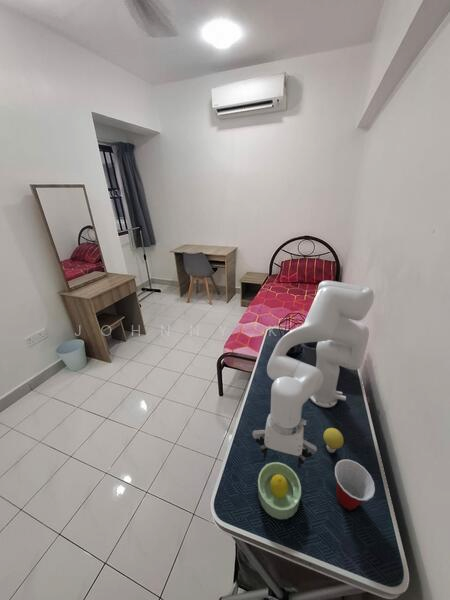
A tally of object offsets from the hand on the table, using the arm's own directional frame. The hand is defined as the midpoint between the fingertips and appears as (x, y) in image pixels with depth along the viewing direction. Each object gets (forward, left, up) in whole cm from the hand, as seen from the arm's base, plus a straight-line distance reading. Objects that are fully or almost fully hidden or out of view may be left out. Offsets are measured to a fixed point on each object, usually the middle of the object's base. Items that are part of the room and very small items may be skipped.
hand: (282, 457), depth 70 cm
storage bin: (-15, -69, -19) cm, 73 cm away
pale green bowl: (0, 0, -19) cm, 19 cm away
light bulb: (-17, -20, -19) cm, 32 cm away
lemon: (0, 0, -19) cm, 19 cm away
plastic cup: (-21, -5, -19) cm, 29 cm away
